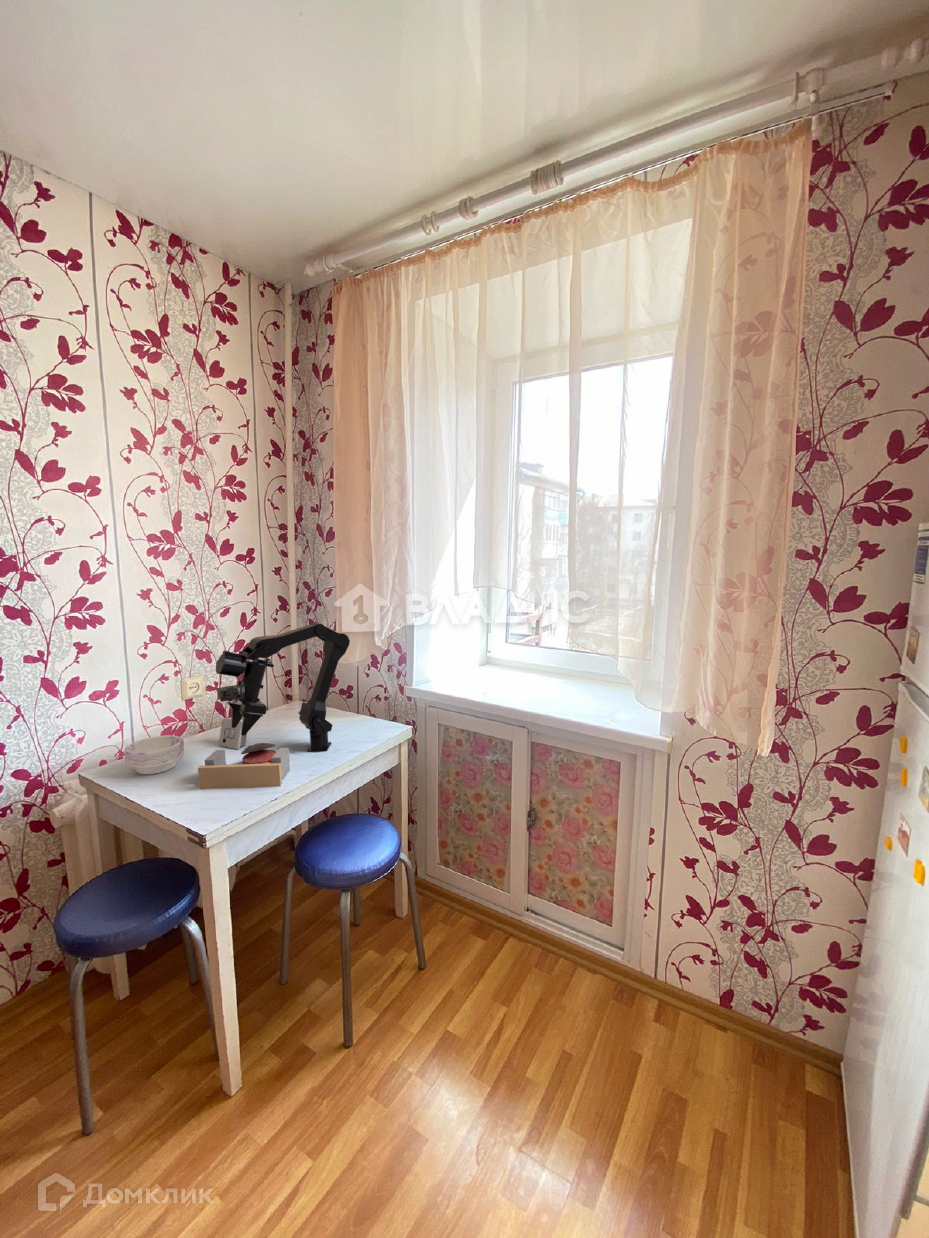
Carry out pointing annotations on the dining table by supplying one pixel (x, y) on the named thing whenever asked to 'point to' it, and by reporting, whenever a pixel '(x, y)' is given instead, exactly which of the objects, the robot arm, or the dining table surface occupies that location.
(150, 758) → the paper bowls
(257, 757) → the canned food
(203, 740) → the dining table surface
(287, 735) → the dining table surface
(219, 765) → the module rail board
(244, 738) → the electrical switch
